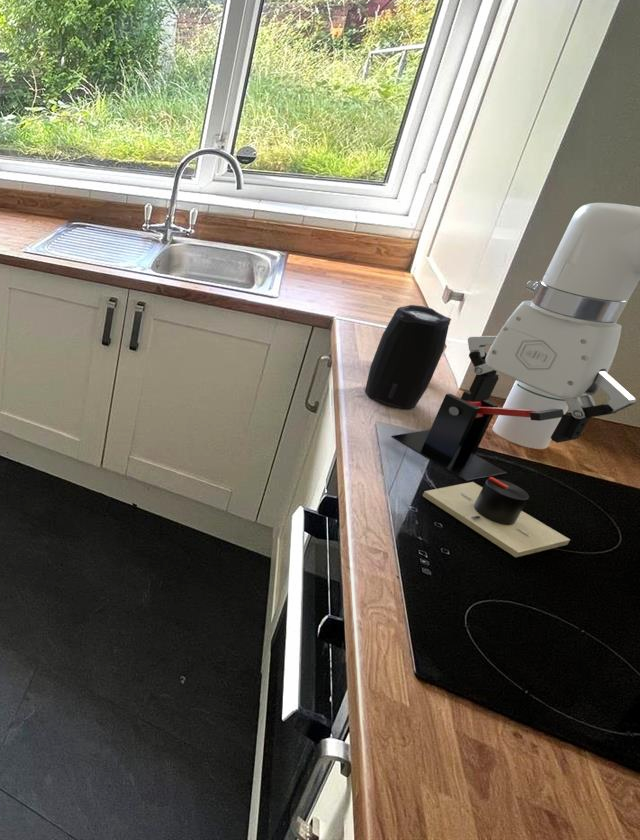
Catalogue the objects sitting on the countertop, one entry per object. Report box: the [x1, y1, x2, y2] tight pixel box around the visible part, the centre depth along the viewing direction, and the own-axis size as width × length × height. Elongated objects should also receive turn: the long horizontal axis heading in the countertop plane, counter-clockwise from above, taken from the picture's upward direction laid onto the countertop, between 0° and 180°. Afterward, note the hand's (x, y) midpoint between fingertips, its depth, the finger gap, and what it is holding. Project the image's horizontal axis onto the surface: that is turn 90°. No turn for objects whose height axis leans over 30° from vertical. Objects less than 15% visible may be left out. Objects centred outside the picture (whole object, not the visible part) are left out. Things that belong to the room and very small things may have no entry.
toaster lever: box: [467, 401, 564, 421], centre depth 89 cm, size 12×5×2 cm, turn 15°
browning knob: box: [474, 476, 530, 525], centre depth 82 cm, size 4×4×5 cm
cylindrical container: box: [492, 380, 569, 450], centre depth 98 cm, size 7×7×25 cm
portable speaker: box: [364, 304, 452, 411], centre depth 110 cm, size 9×9×20 cm
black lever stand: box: [390, 390, 508, 482], centre depth 95 cm, size 12×9×12 cm
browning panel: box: [422, 481, 571, 558], centre depth 83 cm, size 12×10×2 cm
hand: (517, 418), depth 79 cm, fingers open, 9 cm apart
